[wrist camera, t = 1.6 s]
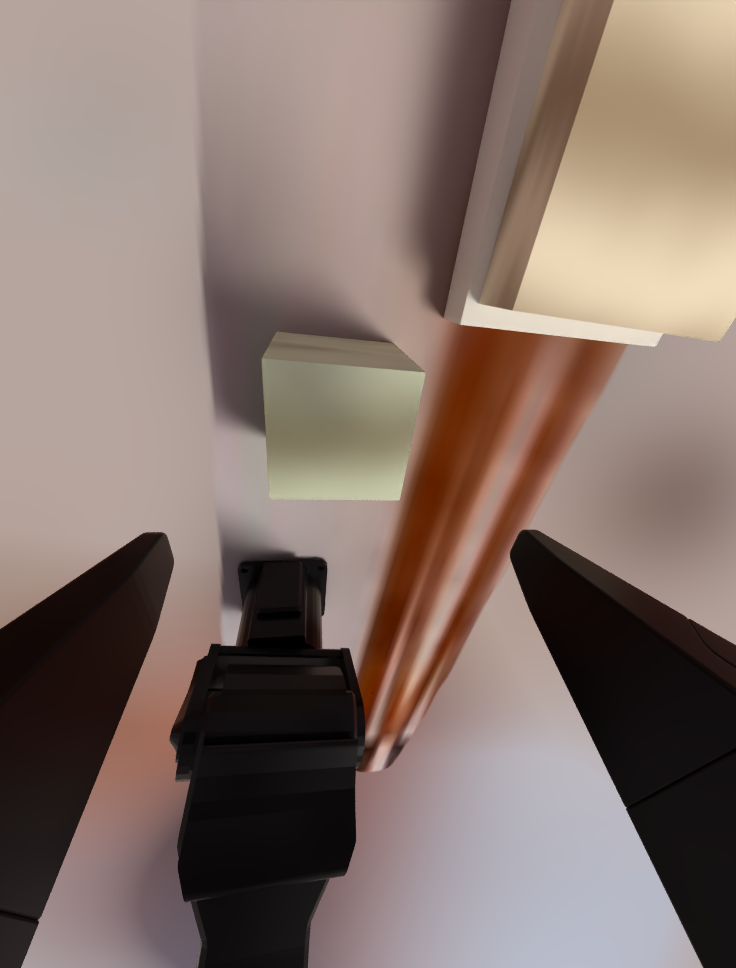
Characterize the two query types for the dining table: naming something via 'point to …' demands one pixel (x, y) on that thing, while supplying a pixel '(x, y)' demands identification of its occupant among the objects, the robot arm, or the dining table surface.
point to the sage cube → (338, 417)
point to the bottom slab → (493, 178)
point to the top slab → (628, 173)
